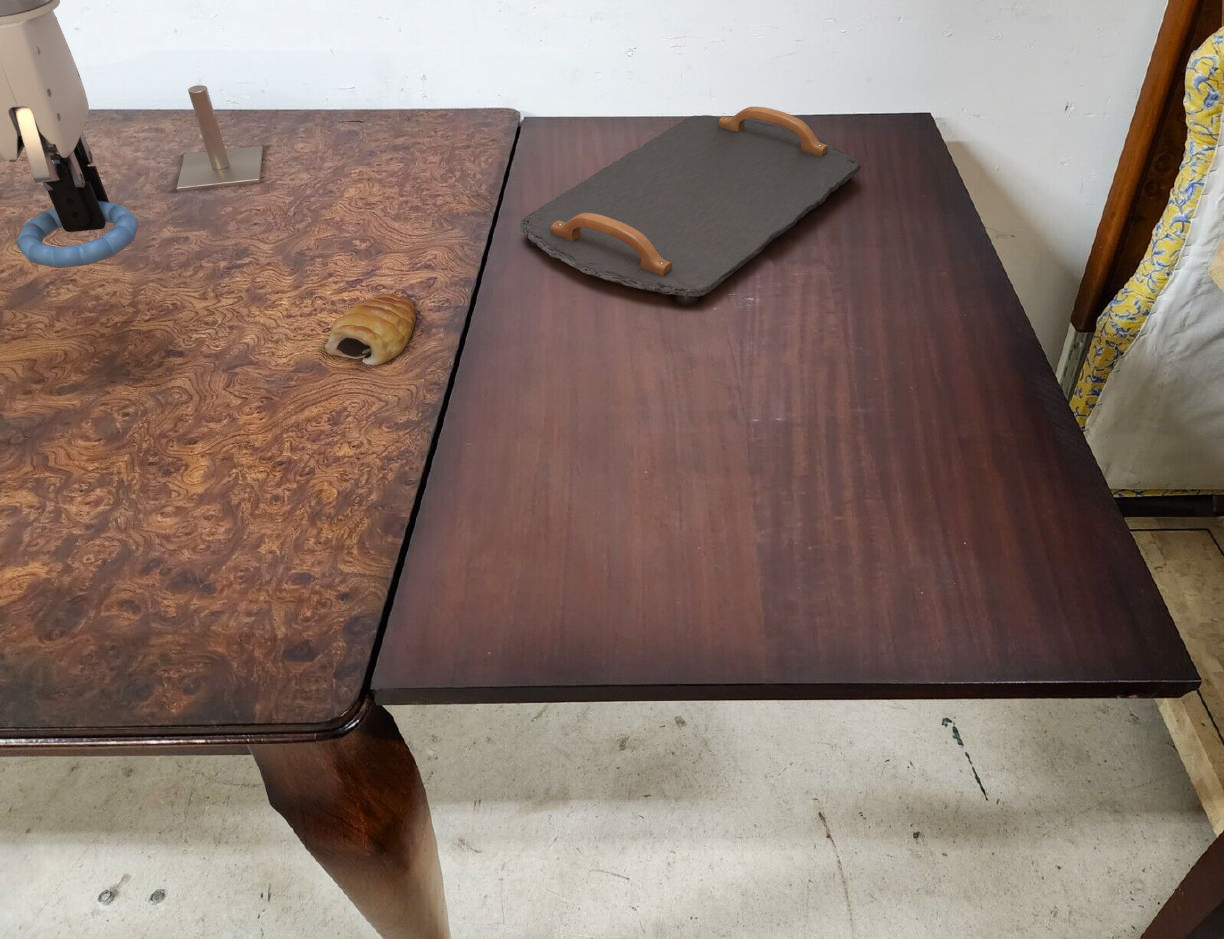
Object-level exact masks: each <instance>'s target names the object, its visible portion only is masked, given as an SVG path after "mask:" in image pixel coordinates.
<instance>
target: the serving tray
mask: <svg viewBox="0 0 1224 939" xmlns="http://www.w3.org/2000/svg"><path fill="white" fill-rule="evenodd" d="M761 121H763V122H761ZM860 163H861V162H859V161H858V160H857V159H856V158H855V157H853V155H850V154H846V153H845V152H843V151H842V150H840V149H839V148H838V147H835V146H834V145H831V144H829V143H826V142H825V141H823V140H822V139H818V138H817V137H816V135H815V134H814V132H813V130H812V129H811V128H810V126H809V125H808V124H807V123H806V122H805V121H803V120H802V119H800V118H798V117H796V116H794V115H792V114H790V113H787V112H784V111H781V110H778V109H774V108H771V107H764V106H748V107H745V108H743V109H742V110H740V111H738V112H737V113H736V114H734V115H733V116H726V115H722V116H721V117H720V116H714V115H710V114H704V115H691V116H689V117H687V118H685V119H684V120H682V121H680V122H679V123H677V124H675V125H673V126H671V127H670V128H668V129H667V130H666V131H663V132H661V133H660V134H658V135H657V136H654V138H652V139H650V140H649V141H647V142H646V143H644V144H643V145H642V146H640V147H638V148H636V149H634V150H632V151H630V152H628V153H627V154H625V155H624V156H622V157H621V158H619V159H618V160H615V161H613V162H612V163H611V164H610V165H608V166H606V167H603V168H602V169H601V170H599V171H598V172H596V173H594V174H592V175H591V176H589V177H588V178H587V179H585V180H584V181H581V182H580V183H578V184H576V185H575V186H574V187H572V188H570V189H568V190H566V191H564V192H563V193H562V194H560V195H558V196H557V197H555V198H554V199H551V200H550V201H549V202H546V203H545V204H543V205H542V206H541V207H539V208H538V209H535V210H534V211H532V212H530V213H528V214H527V215H526V216H525V217H524V218H522V220H521V222H520V224H519V228H520V230H521V231H522V233H523V234H524V235H525V237H527V239H528V240H529V241H530V246H531V247H533V248H536V249H540V250H542V251H543V252H544V253H545V254H547V255H548V256H550V257H552V258H554V259H557V260H559V261H560V262H563V263H564V264H566V265H567V266H570V267H571V268H573V269H575V270H577V271H579V272H581V273H583V274H585V275H588V276H591V277H594V278H597V279H601V280H604V281H607V282H611V283H615V284H619V285H622V286H626V287H628V288H629V287H630V288H632V289H636V290H642V291H646V292H647V291H648V292H656V293H659V294H662V295H674V299H675V303H676V304H677V305H679V306H681V307H691V306H694V305H696V304H697V303H698V300H699V297H703V296H706V295H707V294H709V293H710V292H712V291H713V290H714V289H715V288H717V287H718V286H720V285H721V284H722V283H723V282H724V281H725V280H727V279H728V278H729V277H731V275H733V274H734V273H736V272H737V271H738V270H739V269H742V267H743V266H744V265H745V264H747V263H748V262H749V261H751V260H752V259H754V258H756V257H758V256H759V255H760V254H761V252H762V251H763V250H764V249H765V248H766V247H767V246H768V245H769V244H770V243H771V242H772V241H773V240H774V239H777V238H778V237H780V236H781V235H783V234H785V233H786V232H788V231H789V230H790V229H791V228H794V227H795V225H796V224H797V223H798V221H800V220H801V219H803V218H805V216H806V215H807V214H808V213H809V212H811V211H812V210H814V209H816V208H817V207H818V206H820V205H823V203H824V202H825V201H826V200H827V198H828V197H829V196H830V194H831V193H833V192H836V191H837V190H838V188H841V187H844V186H845V184H846V183H847V182H848V181H849V180H850V179H852V178H853V177H854V176H855V175H856V174H857V173H859V171H860V170H861V169H862V165H861V164H860Z"/></svg>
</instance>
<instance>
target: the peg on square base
mask: <svg viewBox="0 0 1224 939" xmlns="http://www.w3.org/2000/svg"><path fill="white" fill-rule="evenodd" d="M187 91H188V96H189V99H190V102H191V104H192V108H193V111H194V115H195V117H196V121H197V124H198V128H199V130H200V134H201V137H202V140H203V143H204V147H205V150H206V151H197V152H196V151H195V152H189V153H184V155H183V158H182V163H181V168H180V171H179V176H178V180H177V183H176V192H177V193H179V192H187V191H196V190H206V189H215V188H217V189H218V188H225V187H233V186H234V187H235V186H244V185H245V186H246V185H254V184H260V183H261V177H262V166H263V157H264V147H263V145H257V146H247V147H236V148H229V149H228V148H227V149H226V147H225V144H224V140H223V136H222V133H221V129H220V126H219V123H218V120H217V117H216V112H215V110H214V106H213V103H212V99H211V96H210V94H209V89H208V87H207V86H206V85H203V84H202V85H201V84H199V85H193V86H191V87H189V88H188V89H187Z"/></svg>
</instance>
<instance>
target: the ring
mask: <svg viewBox="0 0 1224 939" xmlns="http://www.w3.org/2000/svg"><path fill="white" fill-rule="evenodd" d="M98 203H99V206H100V208H101V211H102V214H103V216H104V219H105V221H106V223H110V224H114V227H113V228H112V229H111V230H110V231H108V232H107V233H105V234H104V235H103V236H101V237H98V238H96V239H92V240H90V241H86V242H83V243H81V244H74V245H73V244H71V245H63V246H62V245H61V246H54V245H50V244H46V243H45V244H44V243H43V241H44V239H45V238H46V237H48V236H50V235H51V234H52V233H53V232H55V231H56V230H59V229H63V226H62V224H61V222H60V219H59V217H58V215H57V212H56V210H55V207H54V208H53V207H52V208H50V209H47V210H44V211H43V212H41V213H40V214H38V215H36V216H35V217H33V218H32V219H30V220H29V221H27V222H25V223H24V225H22V228H21V229H20V232H19V235H18V236H17V239H16V247H17V248H18V250H19V251H20V252H21V253H22V254H23V255H24V257H25V258H26V259H27V260H28V261H29V262H31V263H33V264H36V265H40V266H46V267H51V268H56V269H63V268H64V269H65V268H73V267H83V266H89V265H92V264H95V263H98V262H101V261H104V260H107V259H109V258H112V257H115V256H116V255H118V254H119V253H120V252H122V251H123V250H124V249H126V248H127V247H128V246H130V245H131V244H133V242H134V241H135V238H136V234H137V232H138V228H139V220H138V219H137V217H136V216H135V215H134V214H133V213H132V212H131V211H130V210H129V209H128V208H126V207H125V206H124V205H122V204H119V203H113V202H109V203H108V202H103V201H98Z"/></svg>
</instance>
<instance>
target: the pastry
mask: <svg viewBox="0 0 1224 939" xmlns="http://www.w3.org/2000/svg"><path fill="white" fill-rule="evenodd" d="M416 312H417V310H416V307H415V305H414V303H413V302H412V301H411V300H410V299H408V298H405V297H402V296H398V295H397V294H394V293H384V294H380V295H378V296H376V297H373V298H367V299H366V300H365V301H364V302H363V301H362V302H357V303H355V304H354V306H351V307H348V308H346V309H345V310H344V312H343V316H340V317H337V318H336V319H335V320H334V321H333V323H332V325H331V327H330V334H329V336H328V340H327V342H326V343H325V345H324V349H325V352H326V353H327V354H328V355H329V356H338V357H342V358H350V359H354V360H355V359H356V360H357V359H362V363H363V364H365V365H367V366H368V365H369V366H378V365H382V364H385V363H387V362H390V361H391V360H393V359H394V358H396V357H397V356H398V355H400V354H401V353H403V351H404V350H405V348H406V346H407V344H408V343H409V341H410V339H411V337H412V334H413V330H414V328H415V324H416V321H417V315H416Z"/></svg>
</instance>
